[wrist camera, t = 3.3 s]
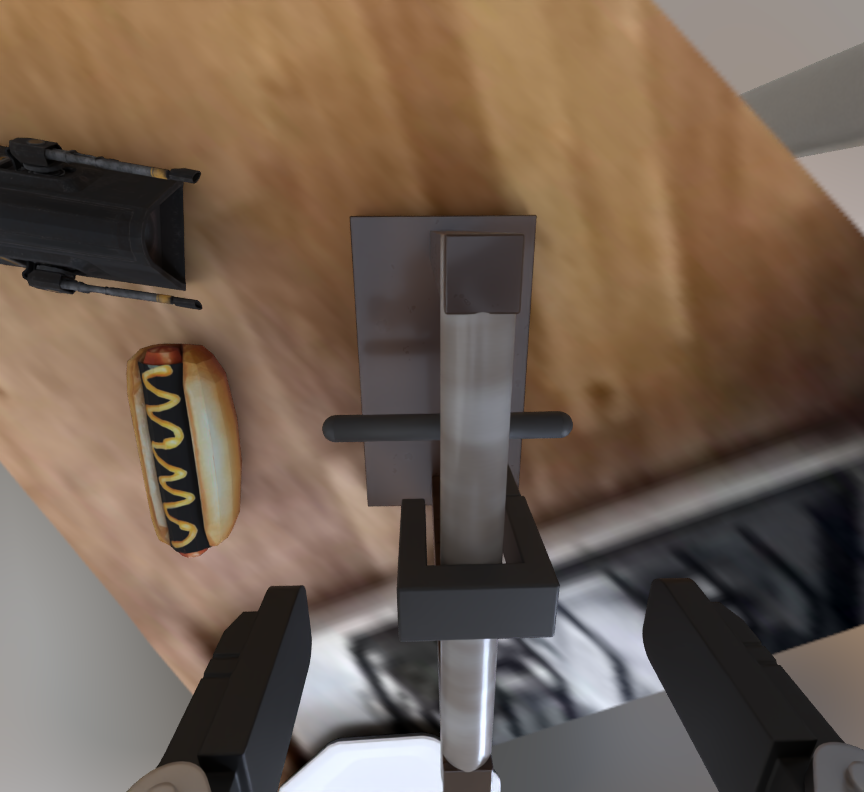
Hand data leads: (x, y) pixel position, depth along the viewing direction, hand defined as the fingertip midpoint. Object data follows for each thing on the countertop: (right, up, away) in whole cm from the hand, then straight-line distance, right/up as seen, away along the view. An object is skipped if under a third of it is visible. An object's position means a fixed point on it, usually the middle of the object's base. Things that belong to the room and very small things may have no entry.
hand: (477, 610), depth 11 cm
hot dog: (-15, +3, +20) cm, 25 cm away
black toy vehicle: (-25, +16, +15) cm, 33 cm away
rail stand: (0, +7, +18) cm, 20 cm away
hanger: (0, +4, +11) cm, 11 cm away
